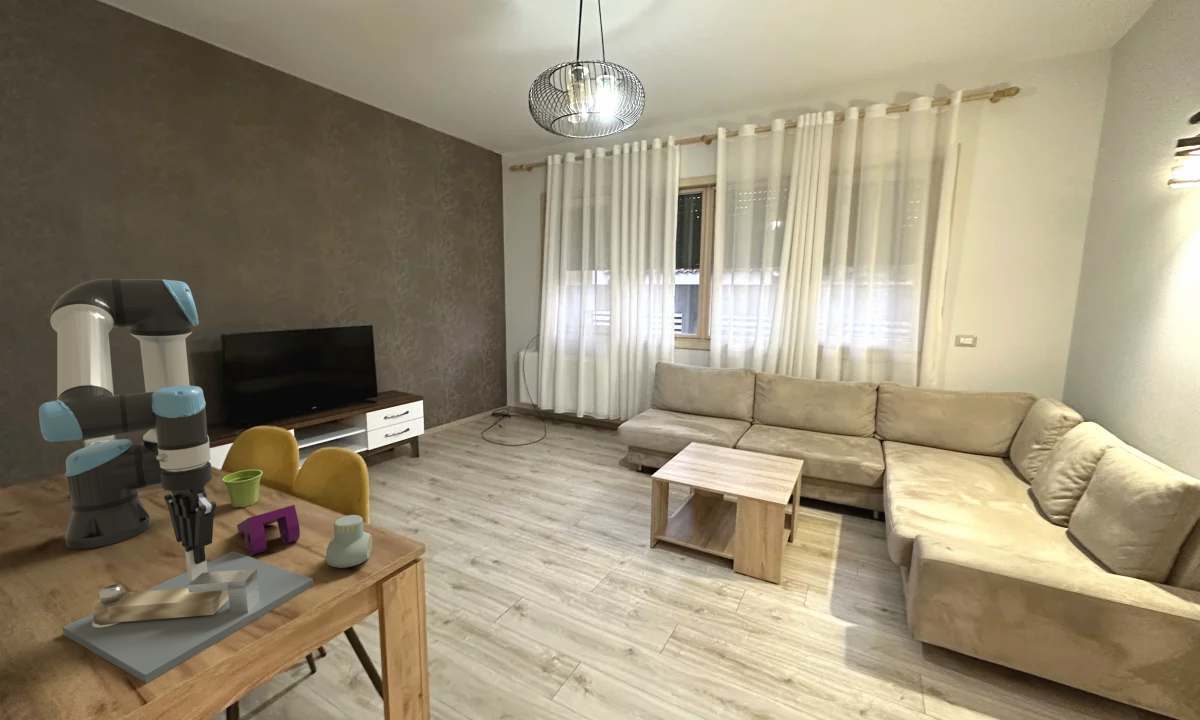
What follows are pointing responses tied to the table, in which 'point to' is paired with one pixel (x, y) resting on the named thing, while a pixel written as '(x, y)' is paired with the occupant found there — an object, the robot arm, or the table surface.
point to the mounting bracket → (256, 524)
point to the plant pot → (243, 487)
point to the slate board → (184, 622)
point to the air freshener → (349, 543)
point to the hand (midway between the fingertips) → (197, 575)
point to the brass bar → (159, 605)
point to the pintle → (109, 600)
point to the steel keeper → (231, 587)
